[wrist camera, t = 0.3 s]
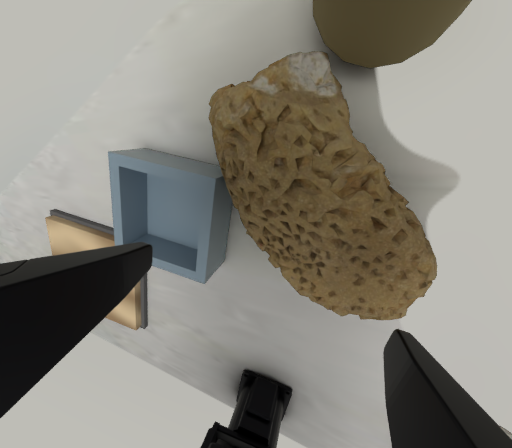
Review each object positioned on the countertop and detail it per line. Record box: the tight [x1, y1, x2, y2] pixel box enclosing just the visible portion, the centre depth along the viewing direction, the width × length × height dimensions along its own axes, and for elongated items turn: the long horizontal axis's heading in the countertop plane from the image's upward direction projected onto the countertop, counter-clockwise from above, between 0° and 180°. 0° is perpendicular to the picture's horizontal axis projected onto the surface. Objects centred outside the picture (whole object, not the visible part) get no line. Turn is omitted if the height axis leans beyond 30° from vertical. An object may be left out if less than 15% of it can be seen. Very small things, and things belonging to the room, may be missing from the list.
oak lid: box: [45, 215, 141, 330], centre depth 30 cm, size 13×13×5 cm
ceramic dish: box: [108, 148, 232, 284], centre depth 23 cm, size 10×10×4 cm
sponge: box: [209, 51, 437, 320], centre depth 18 cm, size 13×8×20 cm
